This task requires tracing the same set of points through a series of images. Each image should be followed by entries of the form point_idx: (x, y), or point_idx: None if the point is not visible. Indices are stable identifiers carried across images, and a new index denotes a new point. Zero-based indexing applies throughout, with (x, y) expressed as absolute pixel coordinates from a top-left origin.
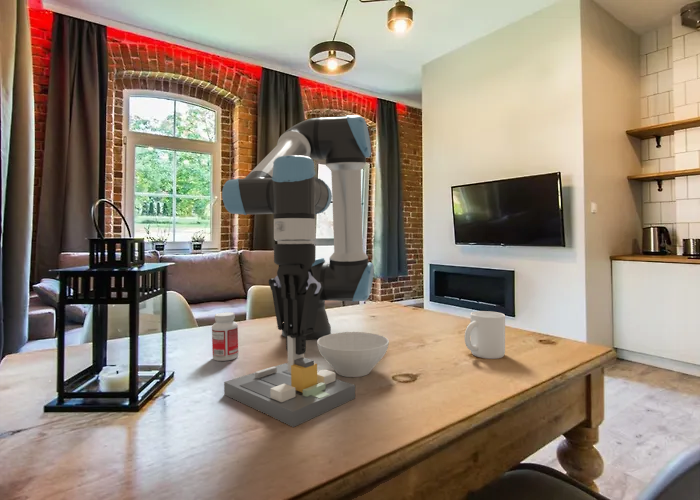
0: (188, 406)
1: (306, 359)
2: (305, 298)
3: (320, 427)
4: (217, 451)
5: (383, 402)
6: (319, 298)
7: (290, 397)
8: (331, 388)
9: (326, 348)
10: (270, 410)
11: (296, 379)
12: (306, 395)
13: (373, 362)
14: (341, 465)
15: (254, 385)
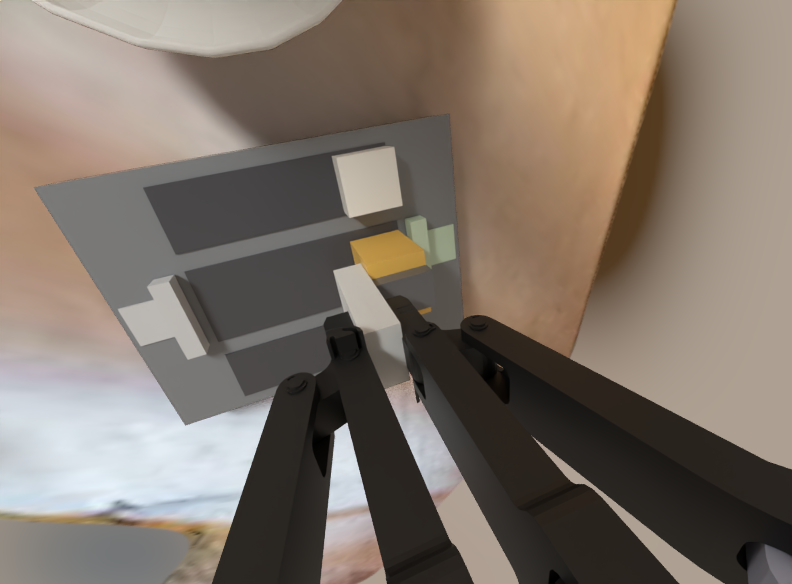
0: (227, 463)
1: (403, 285)
2: (663, 533)
3: (483, 276)
4: (433, 424)
5: (502, 67)
6: (719, 437)
7: None
8: (422, 194)
9: (222, 54)
10: None
11: None
12: None
13: None
14: (574, 302)
15: (270, 365)
